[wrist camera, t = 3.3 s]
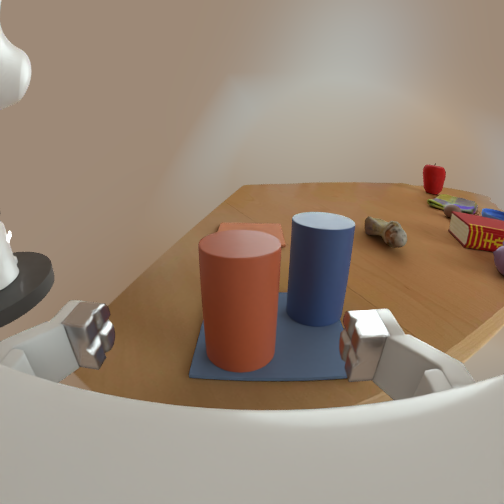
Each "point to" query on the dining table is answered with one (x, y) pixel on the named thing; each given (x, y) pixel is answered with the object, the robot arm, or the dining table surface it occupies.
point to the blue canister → (319, 267)
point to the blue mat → (284, 354)
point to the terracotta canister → (240, 297)
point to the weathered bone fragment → (386, 231)
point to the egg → (451, 209)
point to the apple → (433, 178)
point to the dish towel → (463, 204)
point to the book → (477, 231)
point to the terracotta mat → (256, 229)
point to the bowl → (493, 214)
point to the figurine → (499, 258)
